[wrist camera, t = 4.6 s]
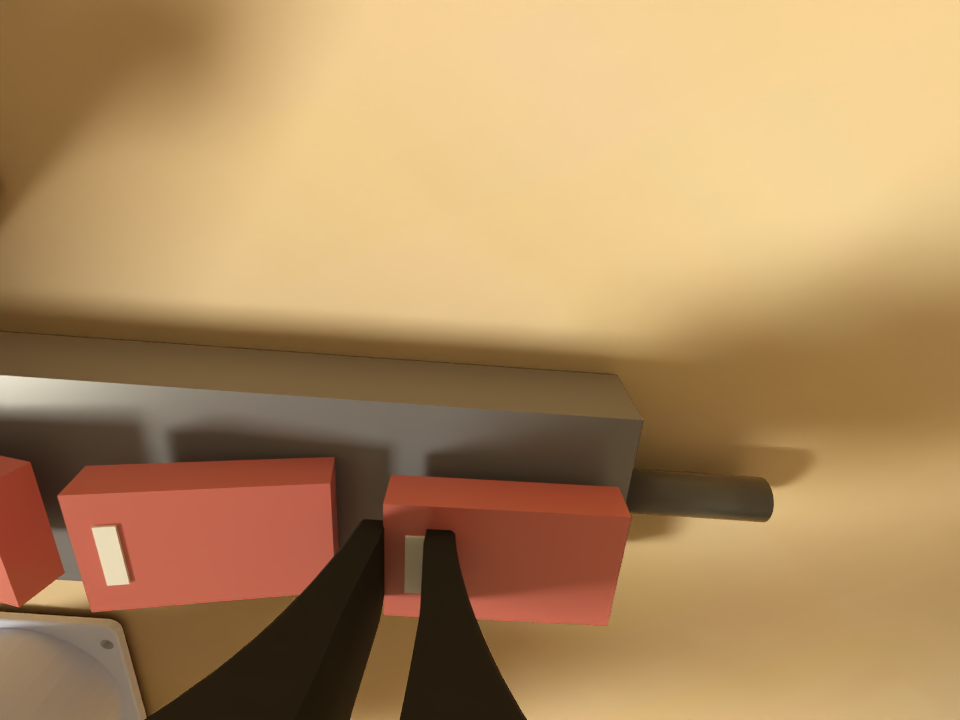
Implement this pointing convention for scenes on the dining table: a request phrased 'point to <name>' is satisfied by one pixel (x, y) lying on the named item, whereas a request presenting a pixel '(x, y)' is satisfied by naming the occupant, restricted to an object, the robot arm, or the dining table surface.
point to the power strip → (333, 423)
